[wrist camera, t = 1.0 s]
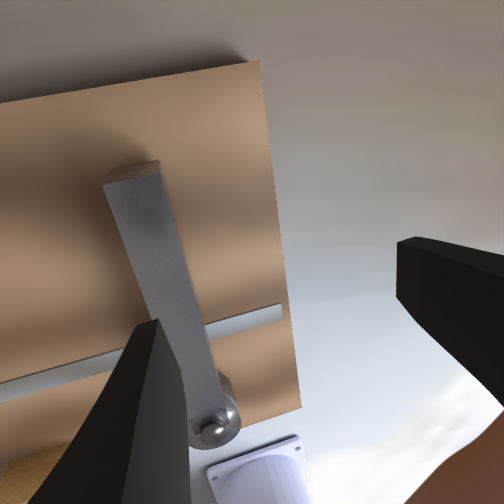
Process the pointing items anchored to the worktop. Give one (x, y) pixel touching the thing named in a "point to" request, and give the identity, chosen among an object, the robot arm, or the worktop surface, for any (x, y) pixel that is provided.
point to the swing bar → (172, 297)
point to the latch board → (114, 252)
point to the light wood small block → (28, 475)
